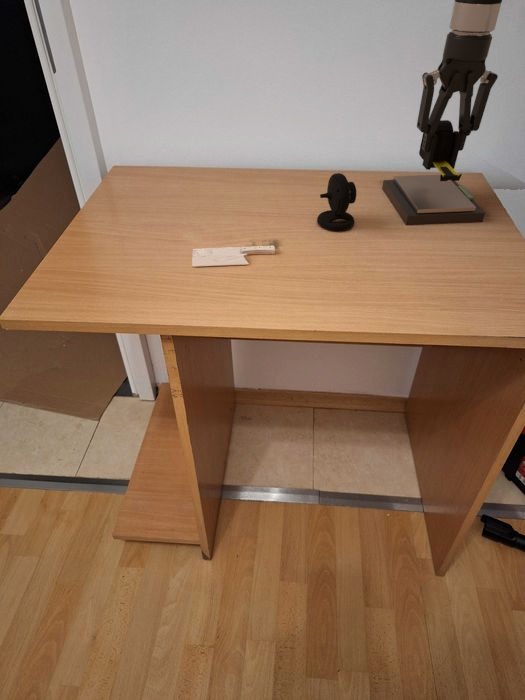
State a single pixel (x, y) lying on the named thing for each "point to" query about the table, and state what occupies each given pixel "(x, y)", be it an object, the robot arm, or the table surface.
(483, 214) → the scale base
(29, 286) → the table surface
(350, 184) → the webcam
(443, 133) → the tape measure
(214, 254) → the toy cleaver knife
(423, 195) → the pan
